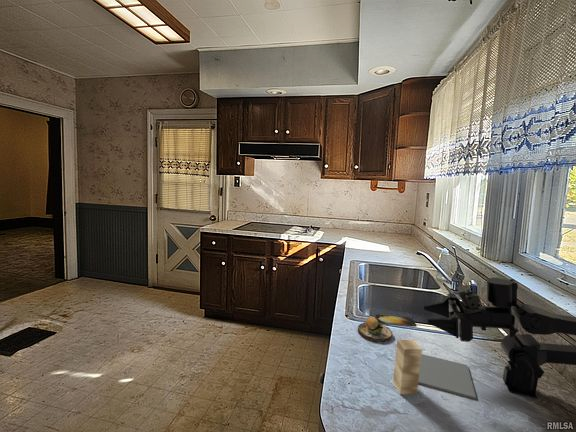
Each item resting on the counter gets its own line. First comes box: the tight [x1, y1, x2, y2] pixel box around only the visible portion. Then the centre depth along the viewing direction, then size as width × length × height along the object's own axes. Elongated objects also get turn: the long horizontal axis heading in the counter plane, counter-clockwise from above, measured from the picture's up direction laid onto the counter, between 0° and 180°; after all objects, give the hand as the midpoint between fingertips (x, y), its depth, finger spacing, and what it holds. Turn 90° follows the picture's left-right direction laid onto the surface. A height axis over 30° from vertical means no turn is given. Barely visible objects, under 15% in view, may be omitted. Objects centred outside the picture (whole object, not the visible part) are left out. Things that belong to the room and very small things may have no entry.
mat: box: [418, 353, 477, 400], centre depth 90 cm, size 18×15×1 cm
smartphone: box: [373, 314, 418, 327], centre depth 121 cm, size 7×1×15 cm
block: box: [392, 339, 423, 395], centre depth 82 cm, size 4×4×12 cm
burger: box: [357, 316, 393, 343], centre depth 110 cm, size 12×12×8 cm
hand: (425, 313), depth 90 cm, fingers open, 9 cm apart
